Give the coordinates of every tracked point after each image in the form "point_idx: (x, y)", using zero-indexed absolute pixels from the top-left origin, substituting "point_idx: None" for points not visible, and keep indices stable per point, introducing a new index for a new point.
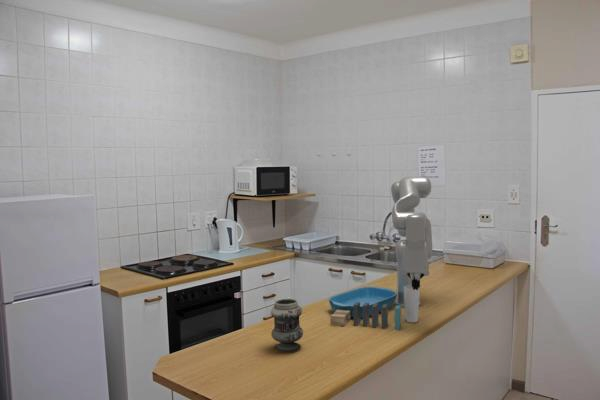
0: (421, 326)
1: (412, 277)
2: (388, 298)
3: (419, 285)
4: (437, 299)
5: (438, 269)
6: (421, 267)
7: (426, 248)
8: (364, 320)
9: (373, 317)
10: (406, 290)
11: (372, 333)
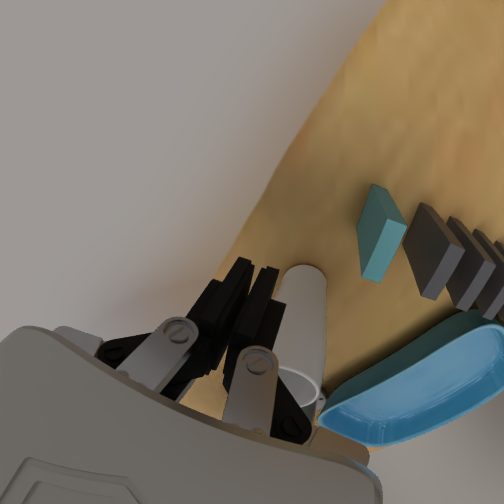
0: (276, 225)
1: (248, 373)
2: (358, 393)
3: (206, 292)
4: (220, 400)
5: None
6: (14, 412)
7: None
8: (489, 242)
9: (472, 237)
10: (311, 368)
11: (470, 154)
